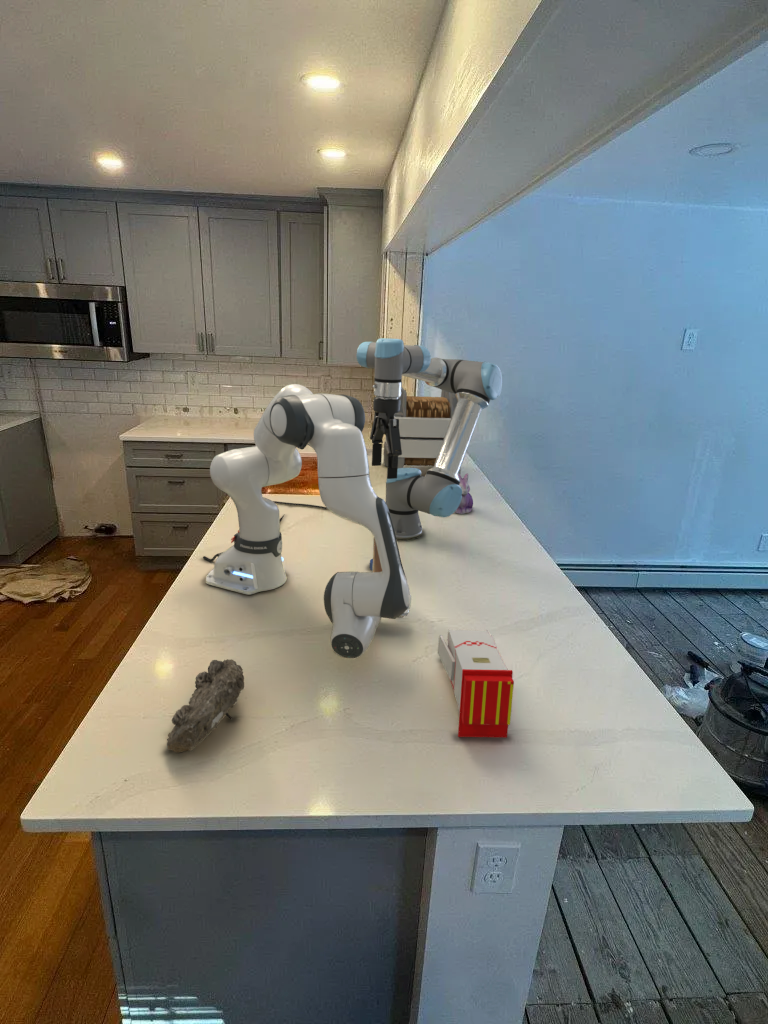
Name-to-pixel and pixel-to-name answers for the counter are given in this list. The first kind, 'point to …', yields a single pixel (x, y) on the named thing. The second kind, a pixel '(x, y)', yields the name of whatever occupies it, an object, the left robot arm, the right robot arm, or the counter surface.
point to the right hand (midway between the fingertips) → (383, 471)
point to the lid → (371, 564)
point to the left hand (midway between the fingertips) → (376, 585)
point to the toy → (478, 682)
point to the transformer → (422, 428)
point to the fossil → (206, 705)
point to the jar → (376, 559)
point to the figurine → (465, 496)
